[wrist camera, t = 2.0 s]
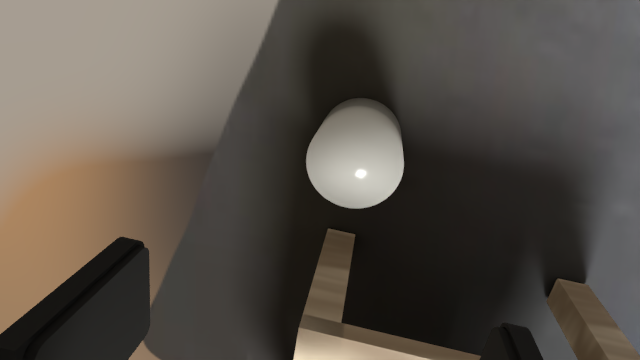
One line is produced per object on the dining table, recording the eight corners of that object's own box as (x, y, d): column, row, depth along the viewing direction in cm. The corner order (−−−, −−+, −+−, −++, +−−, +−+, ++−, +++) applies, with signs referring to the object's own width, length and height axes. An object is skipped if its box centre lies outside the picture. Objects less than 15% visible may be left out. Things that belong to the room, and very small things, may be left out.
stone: (327, 90, 25) (313, 107, 21) (410, 106, 25) (414, 127, 20) (315, 167, 27) (300, 197, 23) (391, 182, 27) (391, 217, 22)
